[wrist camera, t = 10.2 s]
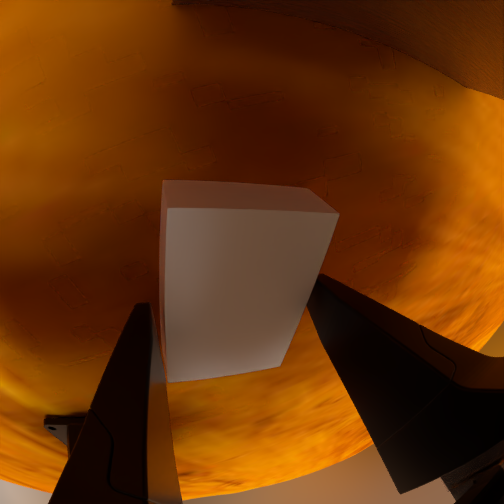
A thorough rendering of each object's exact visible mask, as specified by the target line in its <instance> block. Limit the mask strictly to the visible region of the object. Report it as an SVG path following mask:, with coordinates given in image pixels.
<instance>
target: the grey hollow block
mask: <svg viewBox="0 0 504 504" xmlns="http://www.w3.org/2000/svg"><path fill="white" fill-rule="evenodd" d="M172 4H200V5H219V6H232V7H241V8H250V9H257V10H264V11H270V12H276V13H281V14H286V15H291V16H296V17H300V18H304V19H308V20H312V21H316V22H320V23H324V24H327V25H331V26H334V27H337V28H341V29H344V30H347V31H350V32H353V33H356V34H359V35H361V36H364V37H367V38H369V39H372V40H375V41H377V42H380V43H382V44H385V45H387V46H389V47H392V48H394V49H396V50H398V51H401V52H403V53H405V54H407V55H409V56H411V57H413V58H415V59H417V60H419V61H421V62H423V63H425V64H427V65H429V66H431V67H433V68H435V69H436V70H438V71H440V72H442V73H444V74H445V75H447V76H449V77H450V78H452V79H454V80H455V81H457V82H459V83H460V84H462V85H463V86H465V87H466V88H469V89H473V90H476V91H479V92H483V93H486V94H489V95H492V96H495V97H497V98H500V99H503V100H504V0H172Z"/></svg>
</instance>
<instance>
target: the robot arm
mask: <svg viewBox="0 0 504 504" xmlns="http://www.w3.org/2000/svg"><path fill="white" fill-rule="evenodd" d="M306 306H307V308H308V311H309V313H310V316H311V318H312V320H313V323H314V325H315V328H316V330H317V333H318V335H319V338H320V340H321V342H322V345H323V347H324V349H325V350H326V352H327V354H328V356H329V358H330V360H331V362H332V364H333V365H334V367H335V369H336V371H337V373H338V375H339V377H340V379H341V381H342V382H343V384H344V386H345V388H346V390H347V392H348V394H349V396H350V398H351V400H352V401H353V403H354V405H355V407H356V409H357V411H358V413H359V415H360V417H361V419H362V421H363V423H364V425H365V426H366V428H367V430H368V432H369V434H370V436H371V438H372V440H373V442H374V444H375V446H376V448H377V450H378V452H379V454H380V456H381V458H382V460H383V462H384V464H385V466H386V468H387V469H388V472H389V474H390V476H391V478H392V480H393V482H394V484H395V486H396V488H397V490H398V492H399V493H400V494H403V493H405V492H408V491H410V490H413V489H415V488H418V487H420V486H422V485H425V484H427V483H429V482H431V481H433V480H435V479H437V478H440V480H441V481H442V483H443V485H444V486H445V488H446V489H447V491H448V492H449V491H450V492H451V494H452V495H453V497H454V498H455V500H456V502H455V503H454V504H504V357H490V356H486V355H484V354H481V353H479V352H477V351H475V350H472V349H470V348H468V347H465V346H463V345H461V344H459V343H456V342H454V341H452V340H450V339H448V338H445V337H443V336H441V335H439V334H437V333H435V332H433V331H432V330H430V329H428V328H426V327H424V326H422V325H419V324H418V323H416V322H415V321H413V320H411V319H409V318H407V317H405V316H403V315H401V314H400V313H398V312H396V311H394V310H392V309H390V308H388V307H386V306H384V305H382V304H381V303H379V302H377V301H375V300H373V299H371V298H369V297H367V296H365V295H363V294H362V293H360V292H358V291H356V290H354V289H352V288H350V287H348V286H346V285H344V284H342V283H340V282H338V281H337V280H335V279H333V278H331V277H329V276H327V275H325V274H318V276H317V279H316V282H315V284H314V287H313V289H312V292H311V294H310V297H309V299H308V302H307V304H306ZM90 408H91V409H89V410H88V413H87V416H86V418H45V419H44V428H45V429H47V430H48V431H49V432H50V433H51V434H53V435H54V436H55V437H56V438H58V439H59V440H60V441H62V442H63V443H64V444H65V445H67V448H68V461H67V463H66V465H65V467H64V470H63V472H62V474H61V476H60V478H59V480H58V483H57V485H56V487H55V489H54V492H53V494H52V496H51V499H50V500H49V503H48V504H183V503H182V497H181V492H180V487H179V481H178V475H177V469H176V463H175V457H174V450H173V443H172V435H171V427H170V418H169V409H168V399H167V387H166V378H165V372H164V367H163V362H162V357H161V351H160V346H159V340H158V334H157V328H156V323H155V319H154V314H153V310H152V306H151V303H150V302H144V303H137V304H136V305H135V306H134V308H133V310H132V312H131V314H130V316H129V318H128V320H127V322H126V324H125V327H124V329H123V331H122V333H121V335H120V337H119V339H118V342H117V344H116V346H115V348H114V350H113V353H112V355H111V357H110V360H109V362H108V364H107V366H106V369H105V371H104V373H103V376H102V378H101V381H100V383H99V386H98V388H97V390H96V393H95V395H94V398H93V400H92V403H91V406H90Z"/></svg>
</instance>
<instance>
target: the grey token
mask: <svg viewBox="0 0 504 504" xmlns="http://www.w3.org/2000/svg"><path fill="white" fill-rule="evenodd" d="M339 215H340V214H339V213H338V212H337V211H336V210H335V209H333V208H332V207H331V206H330V205H328V204H327V203H326V202H325V201H323V200H322V199H321V198H320V197H318V196H317V195H316V194H315V193H313V192H312V191H311V190H309V189H308V188H300V187H290V186H279V185H267V184H253V183H238V182H221V181H198V180H163V184H162V199H161V218H160V249H159V299H160V329H161V346H162V352H163V358H164V364H165V370H166V375H167V380H168V383H172V382H182V381H191V380H200V379H208V378H215V377H222V376H229V375H235V374H241V373H247V372H253V371H258V370H264V369H269V368H274V367H279V366H280V365H281V363H282V361H283V358H284V356H285V354H286V352H287V349H288V347H289V345H290V343H291V340H292V338H293V336H294V333H295V331H296V329H297V326H298V324H299V321H300V319H301V317H302V314H303V312H304V309H305V307H306V304H307V302H308V299H309V297H310V294H311V292H312V289H313V287H314V284H315V282H316V279H317V276H318V274H319V271H320V268H321V266H322V263H323V260H324V258H325V255H326V252H327V249H328V247H329V244H330V241H331V238H332V235H333V233H334V230H335V227H336V224H337V221H338V218H339Z"/></svg>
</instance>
